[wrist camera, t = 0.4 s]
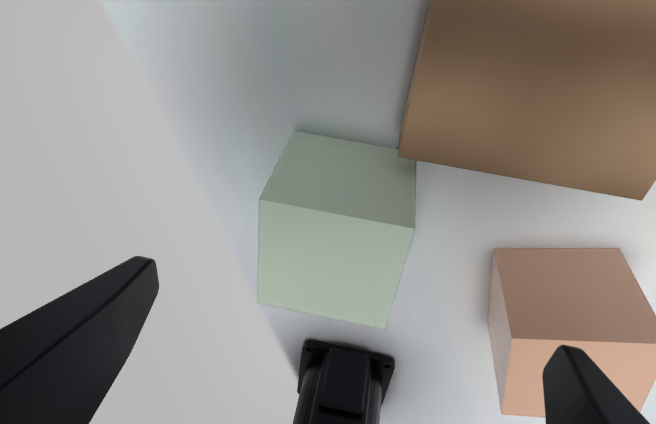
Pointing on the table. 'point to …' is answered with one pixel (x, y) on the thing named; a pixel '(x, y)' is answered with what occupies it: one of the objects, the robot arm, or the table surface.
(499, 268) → the clay cube
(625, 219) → the table surface
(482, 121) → the walnut block
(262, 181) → the table surface
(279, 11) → the table surface
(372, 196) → the sage cube
